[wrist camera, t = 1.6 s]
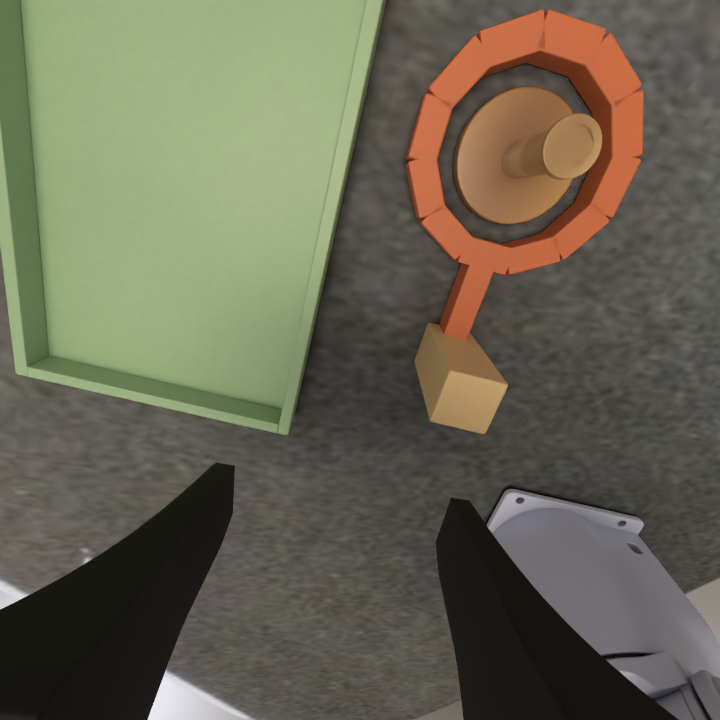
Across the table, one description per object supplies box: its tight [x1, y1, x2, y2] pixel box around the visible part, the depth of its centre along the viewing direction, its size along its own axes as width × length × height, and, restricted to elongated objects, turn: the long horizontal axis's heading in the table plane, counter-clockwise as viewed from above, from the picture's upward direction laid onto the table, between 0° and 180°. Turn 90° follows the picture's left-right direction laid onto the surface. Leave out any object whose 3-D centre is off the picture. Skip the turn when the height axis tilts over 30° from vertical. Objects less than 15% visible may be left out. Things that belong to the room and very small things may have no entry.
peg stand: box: [453, 86, 602, 225], centre depth 14 cm, size 5×5×6 cm
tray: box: [0, 0, 387, 435], centre depth 17 cm, size 14×21×2 cm
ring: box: [405, 9, 644, 434], centre depth 15 cm, size 9×15×6 cm, turn 165°
